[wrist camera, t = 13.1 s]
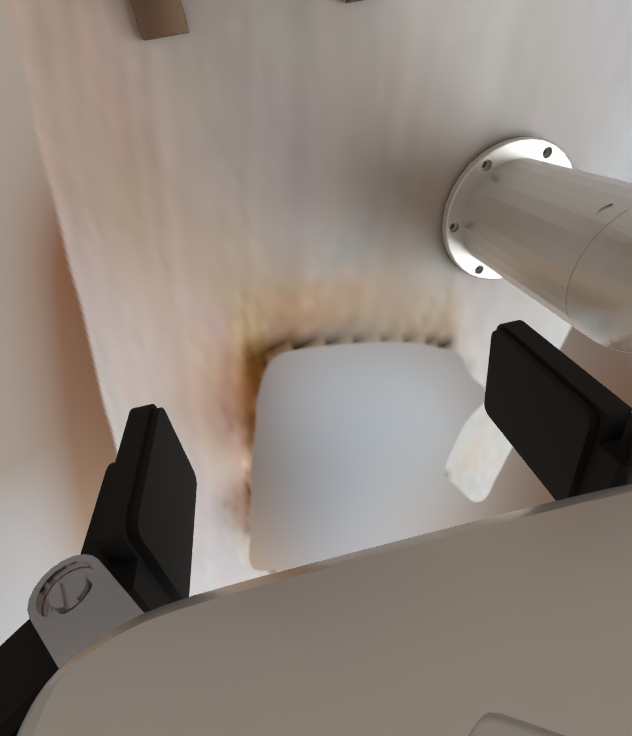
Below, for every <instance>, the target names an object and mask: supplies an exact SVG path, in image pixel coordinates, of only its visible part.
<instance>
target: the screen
mask: <svg viewBox="0 0 632 736" xmlns="http://www.w3.org/2000/svg"><path fill="white" fill-rule="evenodd" d="M357 1H362V0H346V3H351V2H357ZM131 4H132V7H133V10H134V13H135V16H136V20H137V23H138V26H139V29H140V32H141V36H142V39H143V40H151V39H156V38H162V37H167V36H172V35H178V34H183V33H189V30H188V26H187V22H186V18H185V15H184V11H183V7H182V3H181V0H131Z"/></svg>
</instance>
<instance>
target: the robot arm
mask: <svg viewBox="0 0 632 736" xmlns="http://www.w3.org/2000/svg"><path fill="white" fill-rule="evenodd" d="M483 163H484V165H483ZM482 165H483V166H482ZM451 225H452V226H451ZM450 226H451V227H450ZM442 234H443V242H444V245H445V248H446V251H447V253H448V255H449V256H450V258H451V259H452V261H453V262H454V263H455V264H456V265H457V266H458V267H459V268H460V269H462V270H463V271H465V272H466V273H467V274H469V275H472V276H474V277H477V278H482V279H499V278H504V279H506V280H507V281H509V282H510V283H511V284H513V285H514V286H516V287H517V288H519V289H520V290H521V291H523V292H524V293H526V294H527V295H529V296H530V297H531V298H533V299H534V300H536V301H537V302H539V303H540V304H541V305H543V306H544V307H546V308H547V309H549V310H550V311H552V312H553V313H554V314H556V315H557V316H559V317H560V318H562V319H563V320H564V321H566V322H567V323H569V324H570V325H572V326H573V327H574V328H576V329H577V330H579V331H580V332H582V333H584V334H585V335H586V336H588V337H589V338H591V339H592V340H594V341H596V342H597V343H599V344H601V345H603V346H606V347H608V348H611V349H615V350H619V351H623V352H631V353H632V183H629V182H625V181H621V180H617V179H613V178H609V177H605V176H601V175H597V174H593V173H589V172H585V171H581V170H576V169H573V167H572V165H571V162H570V160H569V158H568V157H567V156H566V154H565V153H564V151H563V150H561V149H560V148H559V147H558V146H557V145H556V144H554V143H551V142H549V141H547V140H545V139H540V138H535V137H517V138H512V139H507V140H505V141H503V142H500V143H498V144H495V145H493V146H492V147H490V148H489V149H487V150H486V151H484V152H483V153H481V154H480V155H479V156H478V157H477V158H476V159H474V160H473V161H472V162H471V163H470V164H469V165H468V166H467V168H466V169H465V170H464V171H463V173H462V174H461V175H460V176H459V178H458V180H457V181H456V183H455V185H454V186H453V188H452V190H451V192H450V195H449V197H448V199H447V202H446V205H445V209H444V214H443V221H442ZM484 405H485V410H486V412H487V414H488V415H489V417H490V418H491V419H492V421H493V422H494V423H495V424H496V426H497V427H498V428H499V429H500V431H501V432H502V433H503V434H504V436H505V437H506V438H507V439H508V441H509V442H510V443H511V445H512V446H513V447H514V448H515V450H516V451H517V452H518V453H519V455H520V456H521V457H522V458H523V460H524V461H525V462H526V463H527V465H528V466H529V467H530V468H531V470H532V471H533V472H534V474H535V475H536V476H537V477H538V478H539V480H540V481H541V482H542V484H543V485H544V486H545V487H546V488H547V490H548V491H549V492H550V494H551V495H552V496H553V497H554V499H555V500H556V501H553V502H549V503H546V504H541V505H538V506H534V507H529V508H525V509H522V510H518V511H514V512H510V513H506V514H502V515H498V516H494V517H490V518H486V519H482V520H478V521H474V522H470V523H466V524H462V525H458V526H454V527H450V528H447V529H443V530H439V531H435V532H431V533H427V534H423V535H419V536H415V537H412V538H408V539H404V540H400V541H396V542H392V543H388V544H384V545H381V546H376V547H373V548H369V549H365V550H361V551H357V552H354V553H349V554H346V555H342V556H338V557H334V558H331V559H327V560H323V561H319V562H315V563H311V564H308V565H304V566H300V567H296V568H292V569H289V570H285V571H281V572H277V573H273V574H270V575H266V576H262V577H258V578H255V579H251V580H247V581H244V582H240V583H237V584H233V585H230V586H226V587H223V588H219V589H215V590H212V591H208V592H205V593H201V594H198V595H194V596H191V597H189V589H190V575H191V561H192V546H193V532H194V517H195V503H196V488H197V482H196V476H195V473H194V471H193V469H192V466H191V464H190V462H189V460H188V458H187V456H186V454H185V452H184V450H183V448H182V445H181V443H180V441H179V439H178V437H177V435H176V433H175V431H174V429H173V427H172V424H171V422H170V420H169V418H168V416H167V414H166V412H165V410H164V409H163V408H162V407H161V408H157V407H156V406H155V405H154V404H150V405H146V406H141V407H137V408H133V409H131V410H130V413H129V416H128V420H127V423H126V427H125V430H124V434H123V437H122V441H121V444H120V447H119V451H118V454H117V458H116V462H114V463H111V464H110V465H109V466H108V468H107V470H106V473H105V476H104V479H103V482H102V486H101V489H100V493H99V496H98V499H97V502H96V505H95V509H94V512H93V515H92V518H91V522H90V525H89V529H88V532H87V535H86V538H85V541H84V545H83V548H82V551H81V554H80V555H76V556H73V557H70V558H68V559H66V560H64V561H62V562H60V563H59V564H58V565H56V566H54V567H53V568H51V569H50V570H49V571H48V572H47V573H46V574H45V575H44V576H43V577H42V578H41V580H40V581H39V582H38V584H37V585H36V586H35V588H34V590H33V592H32V594H31V596H30V598H29V603H28V609H27V610H28V614H29V618H30V619H29V620H28V621H27V622H26V623H24V624H23V625H22V626H21V627H20V628H19V629H18V630H17V631H16V632H15V633H14V634H13V635H12V636H11V637H10V638H9V639H7V640H6V641H5V642H4V643H3V644H2V645H1V646H0V736H632V413H631V411H632V408H631V407H629V406H628V405H627V404H626V403H624V402H623V401H622V400H621V399H620V398H618V397H617V396H616V395H615V394H613V393H612V392H611V391H610V390H608V389H607V388H606V387H605V386H603V385H602V384H601V383H600V382H598V381H597V380H596V379H595V378H593V377H592V376H591V375H590V374H588V373H587V372H586V371H585V370H583V369H582V368H581V367H580V366H578V365H577V364H576V363H575V362H573V361H572V360H571V359H570V358H568V357H567V356H566V355H565V354H563V353H562V352H561V351H560V350H558V349H557V348H556V347H555V346H553V345H552V344H551V343H550V342H548V341H547V340H546V339H545V338H543V337H542V336H541V335H540V334H538V333H537V332H536V331H535V330H533V329H532V328H531V327H530V326H528V325H527V324H526V323H525V322H523V321H521V320H517V321H513V322H508V323H504V324H500V325H499V326H498V327H497V330H496V331H494V332H493V333H492V336H491V345H490V354H489V364H488V373H487V382H486V392H485V401H484Z"/></svg>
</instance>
